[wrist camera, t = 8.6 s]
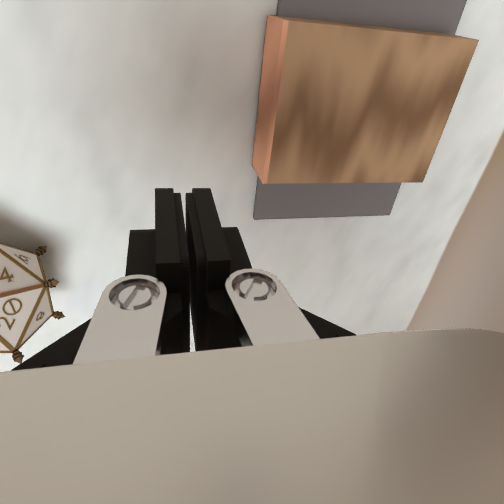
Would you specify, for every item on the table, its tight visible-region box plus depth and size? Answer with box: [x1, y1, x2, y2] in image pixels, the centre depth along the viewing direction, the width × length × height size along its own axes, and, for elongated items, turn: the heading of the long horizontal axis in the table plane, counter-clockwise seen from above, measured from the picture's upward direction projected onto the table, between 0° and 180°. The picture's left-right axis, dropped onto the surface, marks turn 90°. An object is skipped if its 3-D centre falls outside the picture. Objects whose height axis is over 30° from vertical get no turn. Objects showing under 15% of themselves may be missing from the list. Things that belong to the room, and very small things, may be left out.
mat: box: [253, 0, 467, 220], centre depth 25 cm, size 18×12×1 cm, turn 174°
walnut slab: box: [252, 15, 479, 184], centre depth 24 cm, size 9×3×12 cm
